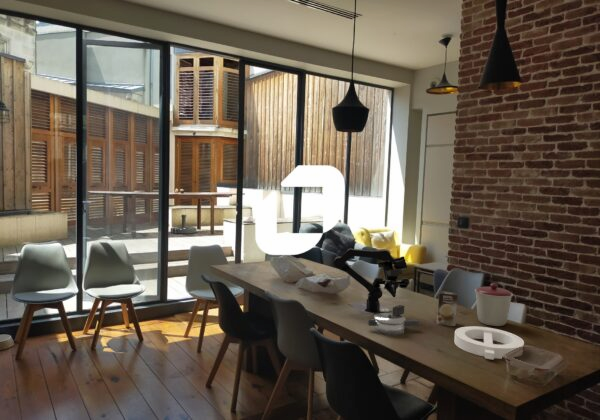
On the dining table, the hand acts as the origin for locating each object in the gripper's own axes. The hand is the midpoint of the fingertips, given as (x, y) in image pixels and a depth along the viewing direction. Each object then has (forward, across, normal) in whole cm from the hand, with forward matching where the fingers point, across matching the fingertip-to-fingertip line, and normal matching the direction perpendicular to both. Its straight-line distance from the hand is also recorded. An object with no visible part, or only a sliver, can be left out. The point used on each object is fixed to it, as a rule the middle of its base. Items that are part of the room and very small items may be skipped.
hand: (394, 296), depth 229 cm
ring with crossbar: (+37, +29, -20) cm, 51 cm away
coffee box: (+14, +25, +2) cm, 29 cm away
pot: (+21, -7, -4) cm, 22 cm away
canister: (+14, +50, +2) cm, 52 cm away
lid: (+16, -7, -7) cm, 19 cm away
